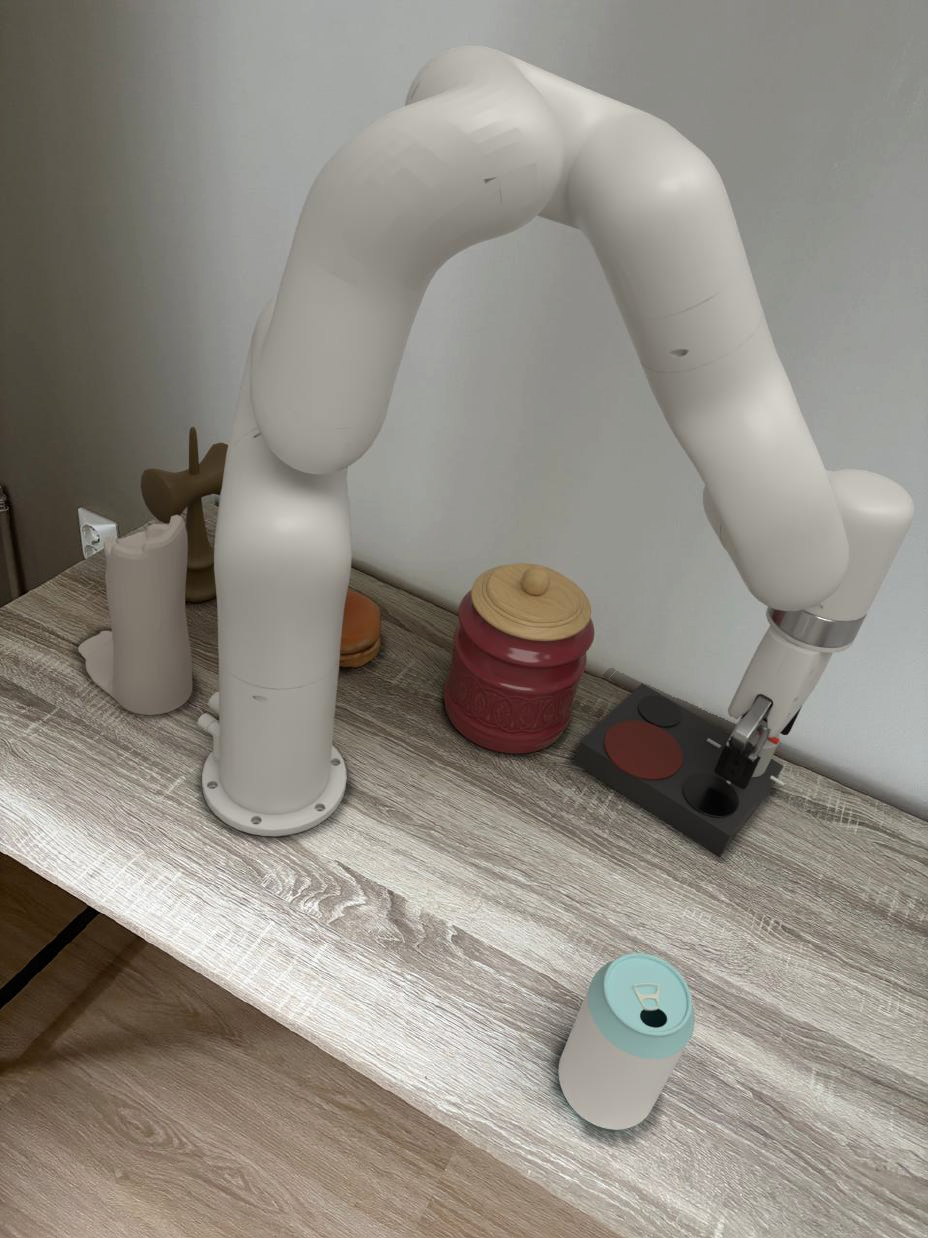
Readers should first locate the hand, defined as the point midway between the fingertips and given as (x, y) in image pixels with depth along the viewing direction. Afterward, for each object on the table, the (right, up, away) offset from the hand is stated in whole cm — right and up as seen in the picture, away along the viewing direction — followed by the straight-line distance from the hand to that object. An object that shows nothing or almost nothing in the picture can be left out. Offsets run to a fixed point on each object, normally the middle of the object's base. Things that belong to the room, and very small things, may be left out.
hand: (752, 752), depth 93 cm
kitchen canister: (-23, +3, +6) cm, 24 cm away
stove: (-7, -2, +2) cm, 8 cm away
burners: (-7, 0, 0) cm, 7 cm away
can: (-17, -21, -23) cm, 35 cm away
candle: (-60, +7, +3) cm, 60 cm away
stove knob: (-1, -1, +1) cm, 1 cm away
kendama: (-57, +16, +14) cm, 60 cm away
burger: (-41, +10, +11) cm, 44 cm away
